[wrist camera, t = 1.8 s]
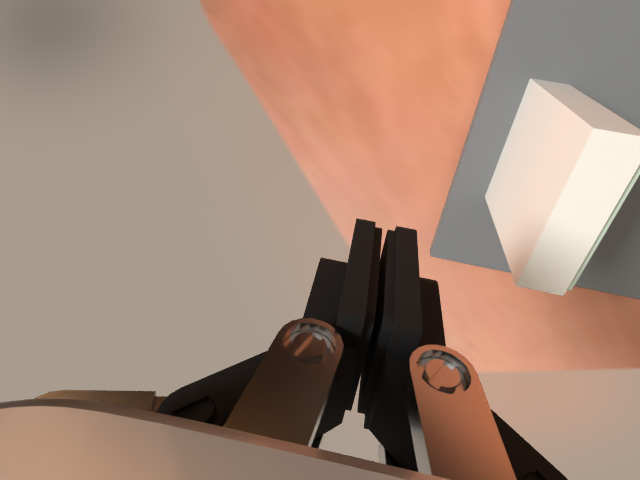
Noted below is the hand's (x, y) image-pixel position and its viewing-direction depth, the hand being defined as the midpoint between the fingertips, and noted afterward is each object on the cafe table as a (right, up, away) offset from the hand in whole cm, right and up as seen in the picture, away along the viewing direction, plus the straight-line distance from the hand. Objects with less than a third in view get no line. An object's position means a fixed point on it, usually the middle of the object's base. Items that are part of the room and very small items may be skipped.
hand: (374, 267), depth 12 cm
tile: (+10, +6, +12) cm, 17 cm away
